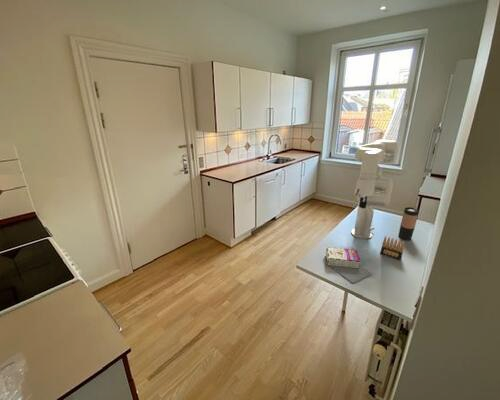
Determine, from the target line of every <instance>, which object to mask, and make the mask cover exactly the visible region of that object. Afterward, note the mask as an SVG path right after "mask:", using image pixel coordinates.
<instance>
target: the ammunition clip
mask: <svg viewBox="0 0 500 400" xmlns="http://www.w3.org/2000/svg"><path fill="white" fill-rule="evenodd" d="M394 239H395V240H394ZM390 240H391V241H390ZM401 240H402V239H399V240H398V239H397V238H394V237H392V238H391V237H390V236H389V237H388V238H387V235H386V236H384V237H383V241H382V244H381V249H380V251H379V252H380V253H379V255H382V256H385V257H388V258H391V259H394V260H398V261H402V257H403V253H404V248H405V240H403V241H402V242H401Z"/></svg>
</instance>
